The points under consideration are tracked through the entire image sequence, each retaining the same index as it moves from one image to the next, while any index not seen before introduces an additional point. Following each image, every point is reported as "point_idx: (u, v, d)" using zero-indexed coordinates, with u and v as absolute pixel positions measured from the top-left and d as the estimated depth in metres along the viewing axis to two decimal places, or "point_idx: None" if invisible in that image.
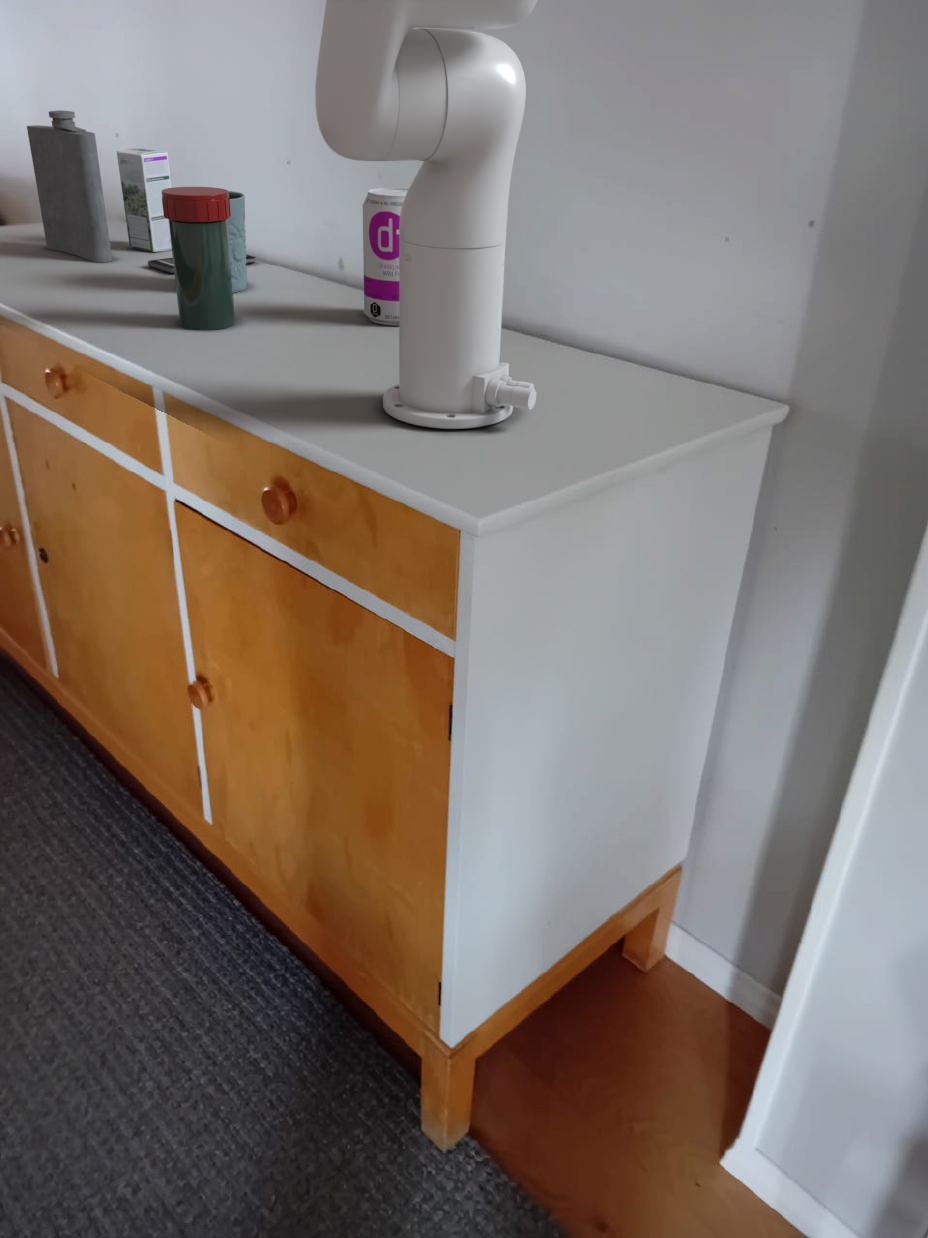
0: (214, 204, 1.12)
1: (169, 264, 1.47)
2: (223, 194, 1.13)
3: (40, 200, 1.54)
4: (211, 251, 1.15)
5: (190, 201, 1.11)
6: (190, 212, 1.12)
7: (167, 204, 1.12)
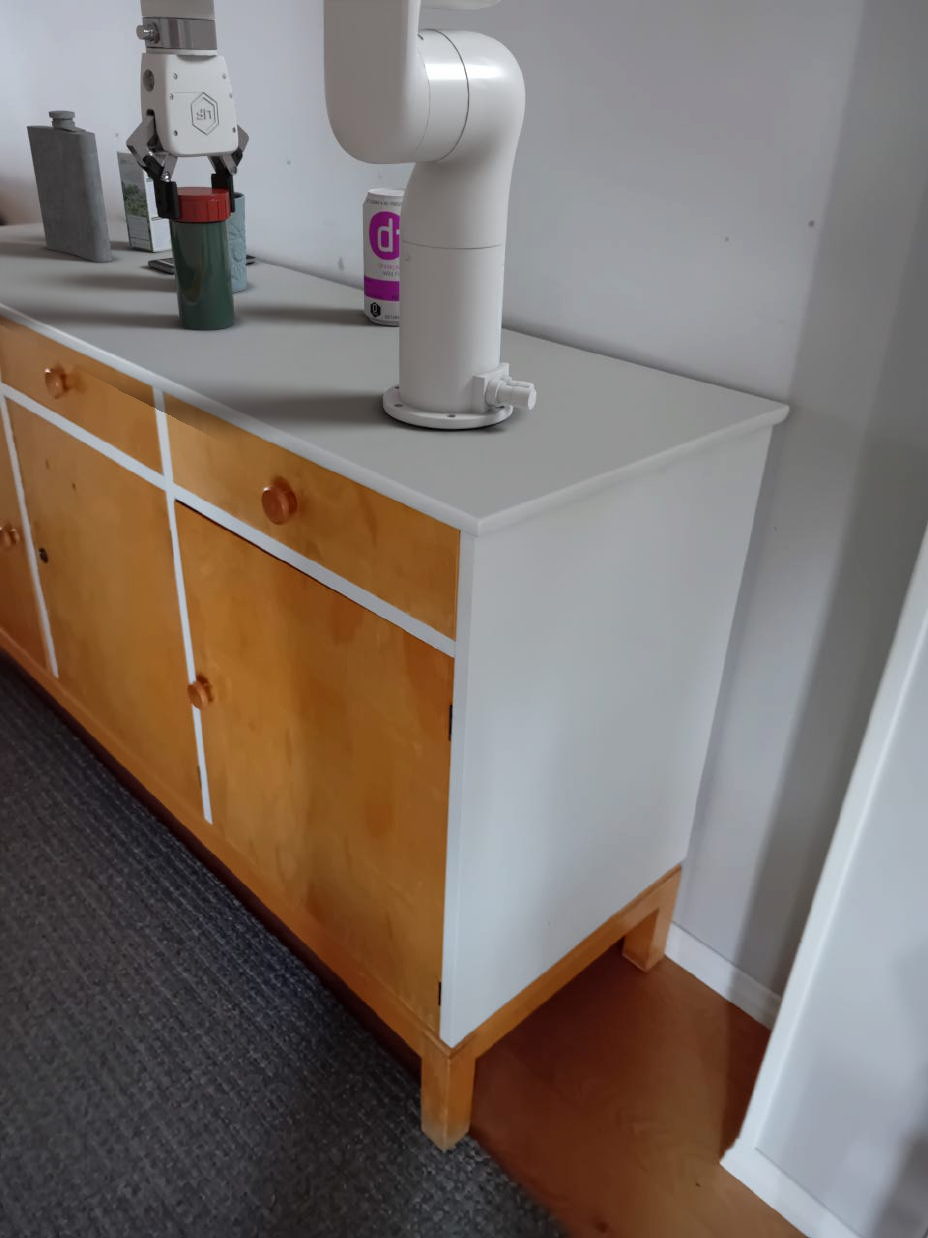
0: (214, 204, 1.12)
1: (169, 264, 1.47)
2: (223, 194, 1.13)
3: (40, 200, 1.54)
4: (211, 251, 1.15)
5: (190, 201, 1.11)
6: (190, 212, 1.12)
7: None
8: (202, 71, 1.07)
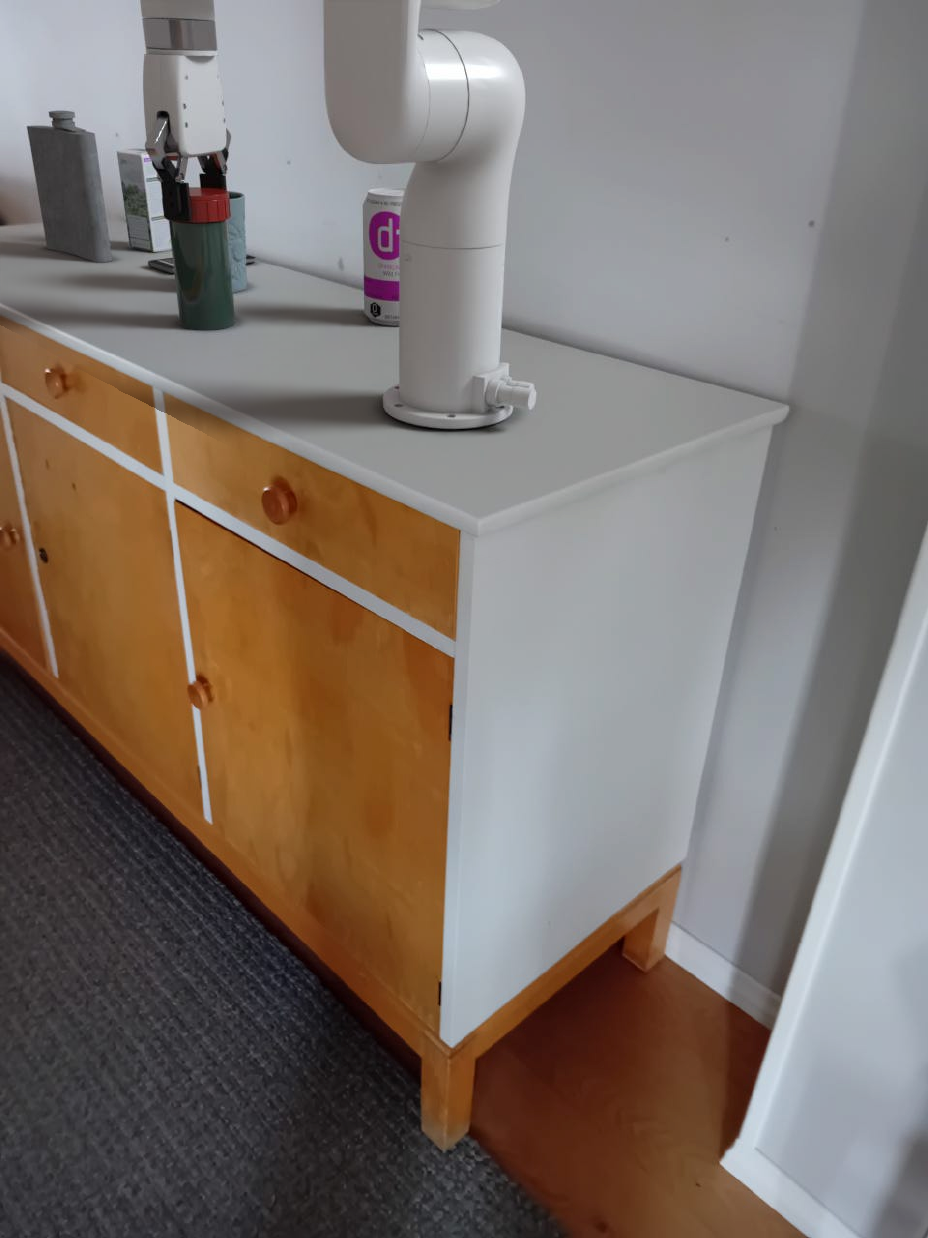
0: None
1: (169, 264, 1.47)
2: None
3: (40, 200, 1.54)
4: (211, 251, 1.15)
5: None
6: None
7: None
8: None
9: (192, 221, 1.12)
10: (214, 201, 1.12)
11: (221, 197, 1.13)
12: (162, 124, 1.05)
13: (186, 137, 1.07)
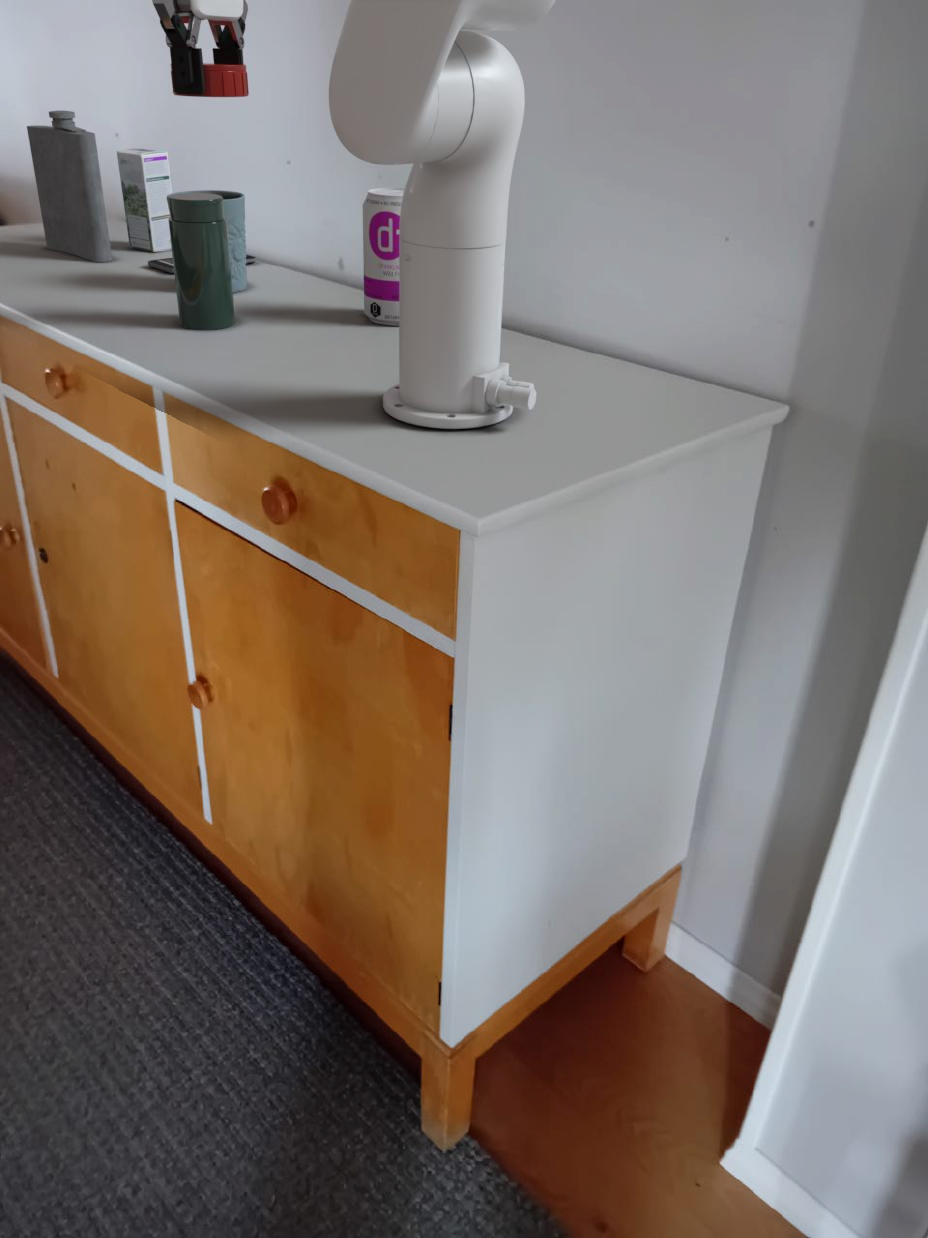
0: None
1: (169, 264, 1.47)
2: None
3: (40, 200, 1.54)
4: (211, 251, 1.15)
5: None
6: None
7: None
8: None
9: (205, 95, 0.99)
10: (230, 72, 0.99)
11: (238, 68, 0.99)
12: None
13: None
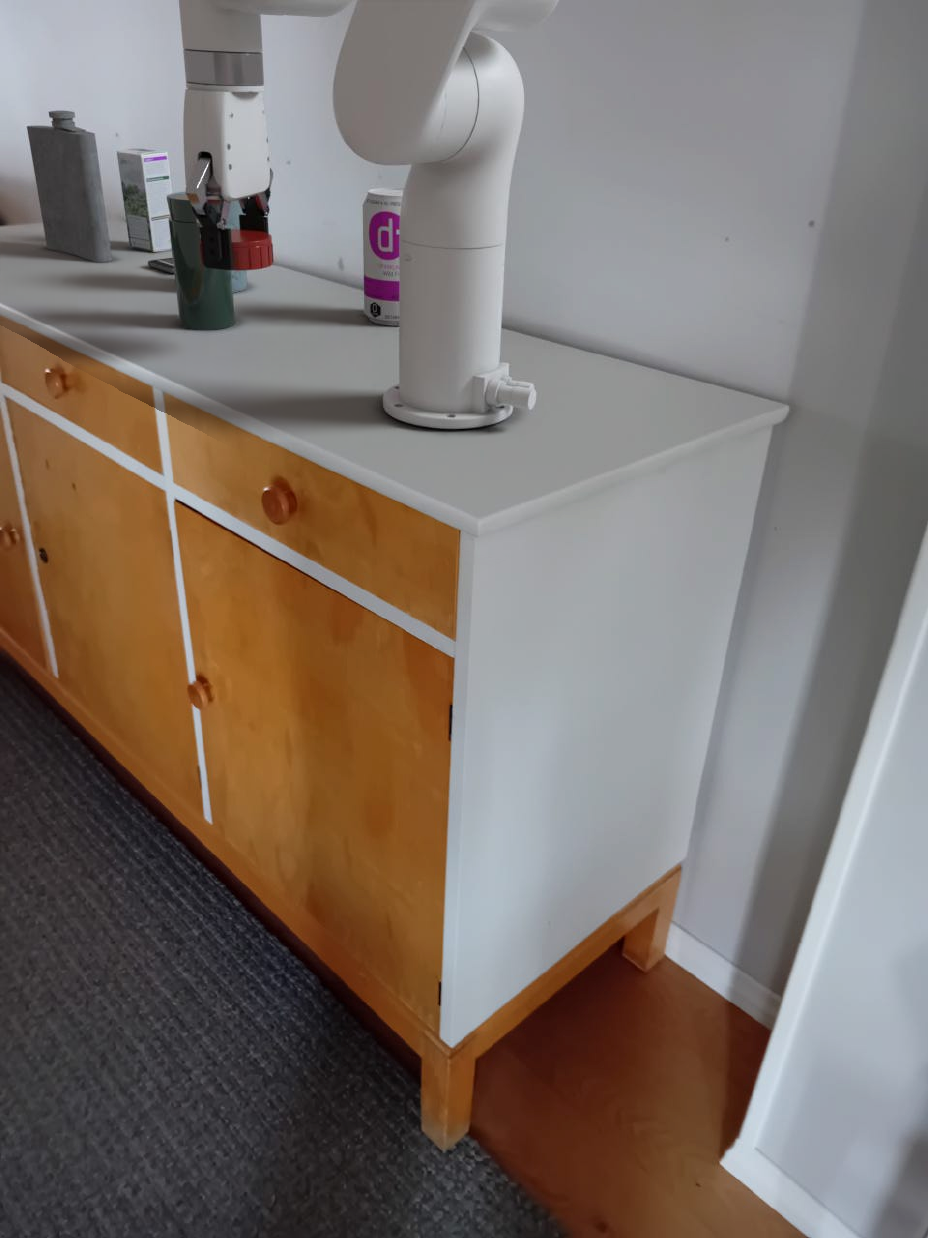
0: None
1: (169, 264, 1.47)
2: (200, 235, 1.05)
3: (40, 200, 1.54)
4: None
5: None
6: None
7: None
8: None
9: (233, 269, 1.03)
10: (257, 247, 1.03)
11: (264, 243, 1.04)
12: (204, 166, 0.96)
13: (230, 180, 0.98)
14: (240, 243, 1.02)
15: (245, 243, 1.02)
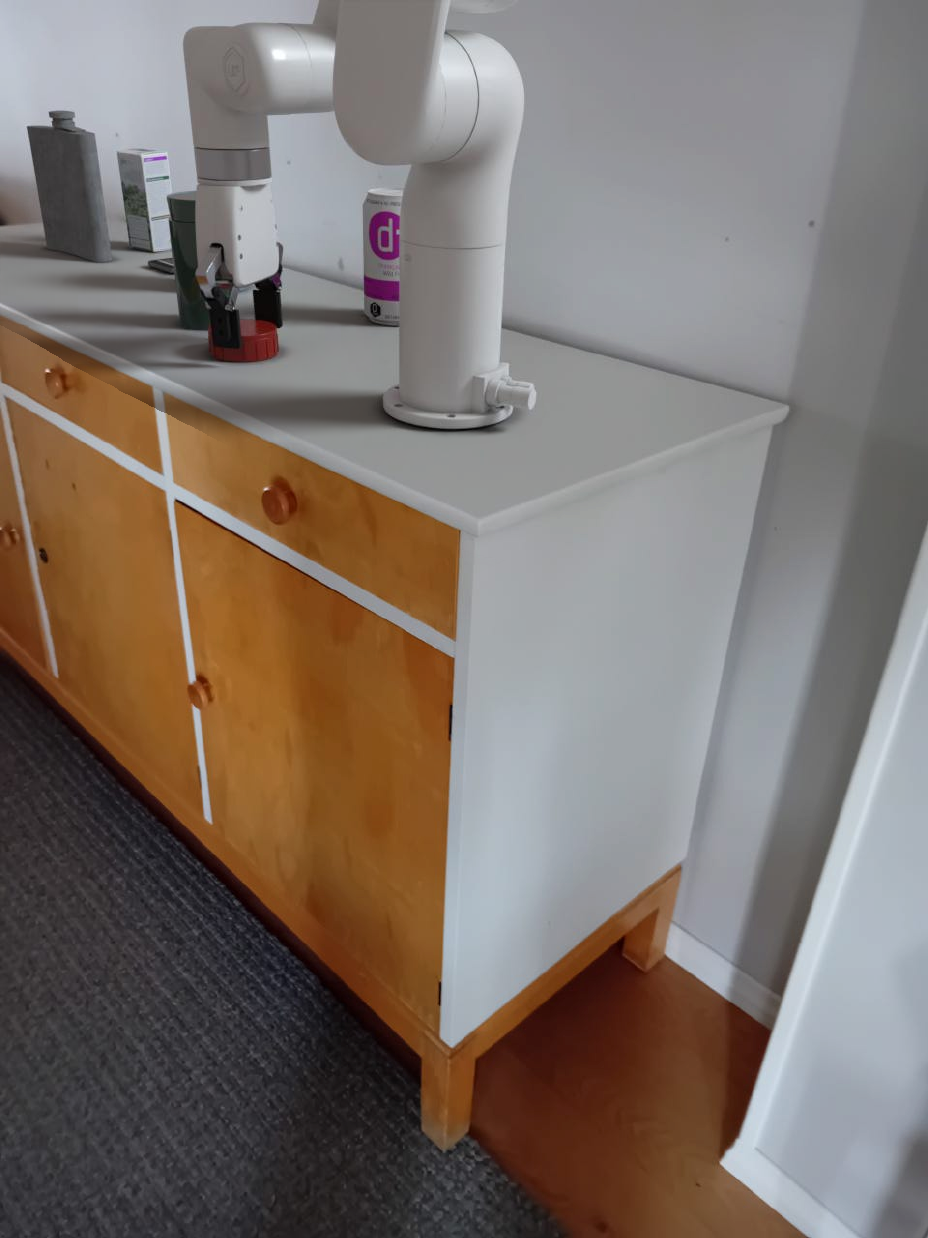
0: None
1: (169, 264, 1.47)
2: (208, 327, 1.10)
3: (40, 200, 1.54)
4: None
5: None
6: None
7: None
8: None
9: (240, 361, 1.08)
10: (263, 340, 1.08)
11: (270, 335, 1.08)
12: (215, 253, 1.00)
13: (241, 268, 1.02)
14: (247, 337, 1.07)
15: (252, 337, 1.07)
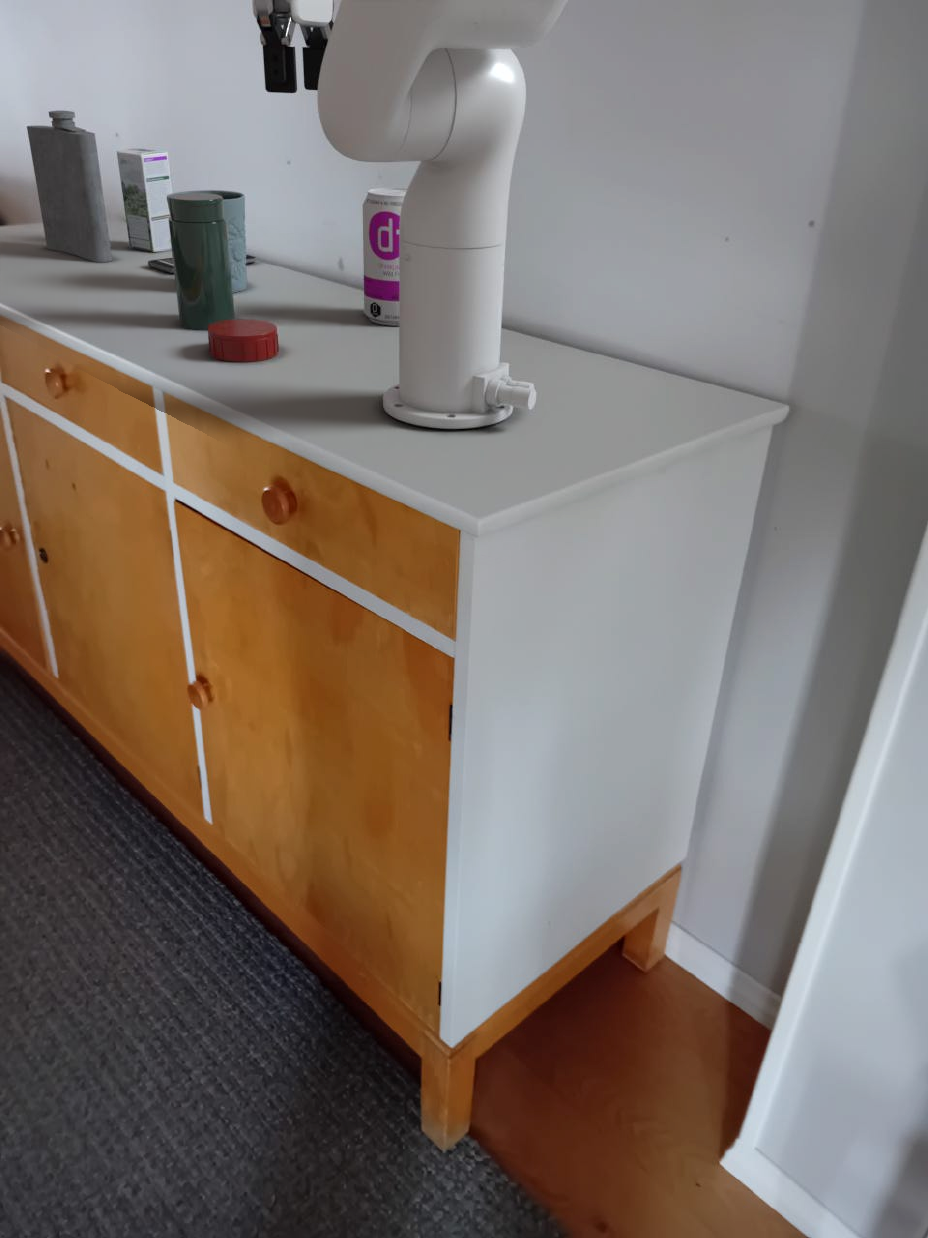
0: None
1: (169, 264, 1.47)
2: (208, 327, 1.10)
3: (40, 200, 1.54)
4: (211, 251, 1.15)
5: None
6: None
7: None
8: None
9: (240, 361, 1.08)
10: (263, 340, 1.08)
11: (270, 335, 1.08)
12: None
13: None
14: (247, 337, 1.07)
15: (252, 337, 1.07)
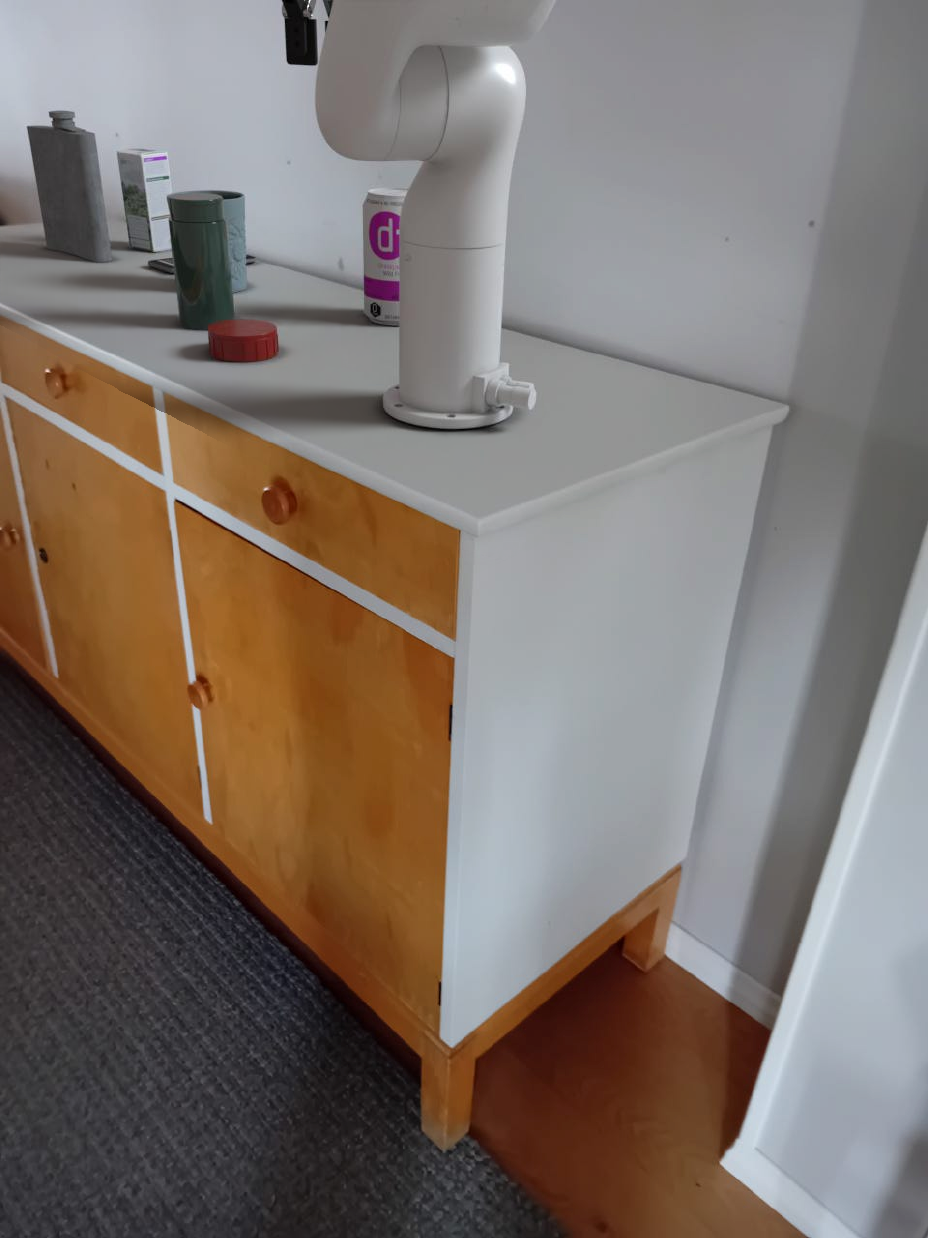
0: None
1: (169, 264, 1.47)
2: (208, 327, 1.10)
3: (40, 200, 1.54)
4: (211, 251, 1.15)
5: None
6: None
7: None
8: None
9: (240, 361, 1.08)
10: (263, 340, 1.08)
11: (270, 335, 1.08)
12: None
13: None
14: (247, 337, 1.07)
15: (252, 337, 1.07)
